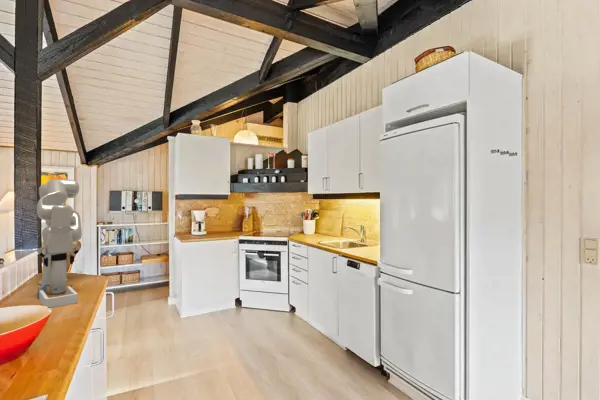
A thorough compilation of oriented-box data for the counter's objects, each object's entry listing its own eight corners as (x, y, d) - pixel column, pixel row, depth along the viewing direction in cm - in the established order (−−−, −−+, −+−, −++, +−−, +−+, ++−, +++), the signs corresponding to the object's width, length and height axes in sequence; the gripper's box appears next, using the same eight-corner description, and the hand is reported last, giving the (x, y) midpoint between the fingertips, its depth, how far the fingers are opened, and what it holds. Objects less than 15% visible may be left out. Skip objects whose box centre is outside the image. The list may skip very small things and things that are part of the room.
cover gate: (36, 299, 140) (37, 288, 140) (43, 292, 149) (44, 281, 149) (40, 298, 140) (41, 287, 140) (47, 292, 150) (47, 281, 150)
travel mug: (57, 295, 145) (58, 254, 145) (45, 294, 146) (47, 253, 146) (69, 292, 151) (70, 252, 151) (58, 290, 152) (60, 251, 153)
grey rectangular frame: (38, 298, 141) (38, 288, 141) (71, 292, 150) (71, 284, 150) (45, 308, 128) (45, 298, 128) (80, 302, 138) (80, 292, 138)
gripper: (79, 229, 158) (78, 261, 157) (36, 230, 145) (34, 266, 144) (83, 230, 153) (82, 263, 152) (38, 231, 140) (37, 268, 139)
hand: (59, 265), depth 148 cm, fingers open, 9 cm apart
